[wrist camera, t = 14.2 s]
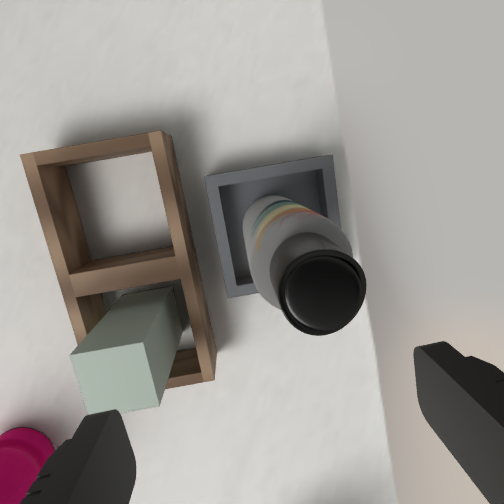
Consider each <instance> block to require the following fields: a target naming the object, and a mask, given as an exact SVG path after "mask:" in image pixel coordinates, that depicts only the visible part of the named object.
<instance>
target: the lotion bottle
mask: <svg viewBox="0 0 504 504" xmlns="http://www.w3.org/2000/svg"><path fill="white" fill-rule="evenodd" d="M243 235H244V240H245V246H246V251H247V256H248V262H249V267H250V272H251V276H252V279H253V282H254V284H255V286H256V288H257V290H258V291H259V293H260V294H261V295H262V297H263V298H264V299H265V300H266V301H268V302H269V303H270V304H271V305H273V306H274V307H276V308H278V309H280V310H282V312H283V314H284V316H285V317H286V319H287V320H288V321H289V322H290V324H292V325H293V326H294V327H295V328H296V329H298V330H300V331H301V332H304V333H306V334H310V335H316V336H321V335H328V334H331V333H334V332H336V331H338V330H340V329H342V328H343V327H344V326H346V325H347V324H348V323H349V322H350V321H351V320H352V319H353V318H354V317H355V316H356V314H357V313H358V311H359V310H360V308H361V306H362V304H363V301H364V298H365V294H366V278H365V275H364V272H363V269H362V268H361V266H360V265H359V264H358V262H357V261H356V260H355V259H354V258H353V254H352V249H351V246H350V243H349V241H348V239H347V237H346V236H345V234H344V233H343V231H342V230H341V229H340V228H339V227H338V226H337V225H336V224H335V223H333V222H332V221H331V220H329V219H327V218H326V217H324V216H322V215H320V214H318V213H316V212H314V211H312V210H310V209H308V208H306V207H304V206H302V205H300V204H298V203H296V202H294V201H292V200H290V199H288V198H286V197H283V196H278V195H269V196H265V197H262V198H260V199H258V200H256V201H255V202H254V203H252V204H251V206H250V207H249V208H248V210H247V211H246V213H245V216H244V219H243Z"/></svg>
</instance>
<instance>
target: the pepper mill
mask: <svg viewBox="0 0 504 504" xmlns="http://www.w3.org/2000/svg"><path fill="white" fill-rule="evenodd" d="M53 453H54V449H53V446H52V444H51V442H50V440H49V439H48V438H47V437H46V436H45V435H43V434H42V433H40V432H38V431H36V430H34V429H30V428H16V429H11V430H9V431H7V432H5V433H4V434H2V435H1V436H0V504H20V502H21V501H22V499H23V498H25V497H26V493H27V491H28V490H29V488H30V486H31V485H32V483H33V481H36V477H37V475H38V473H39V472H40V470H41V469H42V467H43V465H44V464H45V462H46V461H47V459H48V458H49V457H50V456H51V455H52V454H53Z"/></svg>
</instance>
